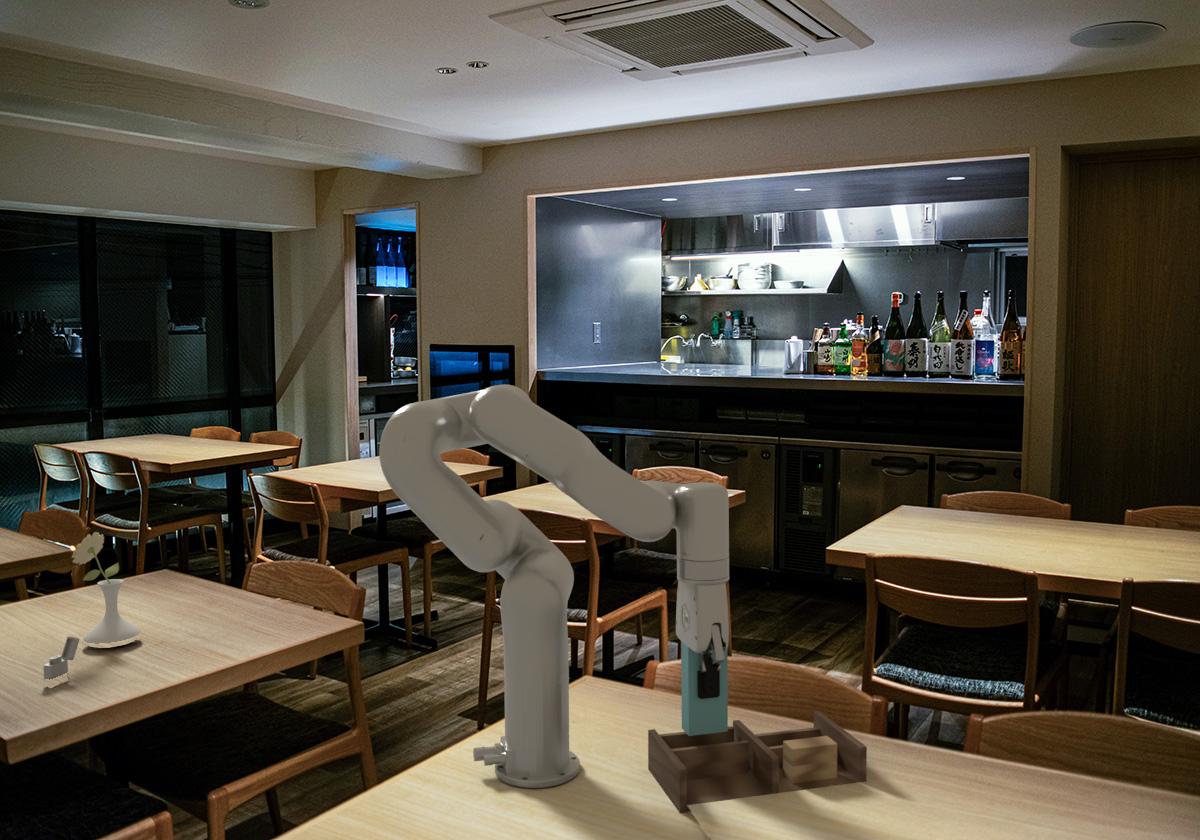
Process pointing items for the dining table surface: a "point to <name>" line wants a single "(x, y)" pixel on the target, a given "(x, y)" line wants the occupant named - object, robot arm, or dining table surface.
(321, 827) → the dining table surface
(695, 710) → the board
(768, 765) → the rack
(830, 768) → the offcut lower
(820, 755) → the offcut upper
